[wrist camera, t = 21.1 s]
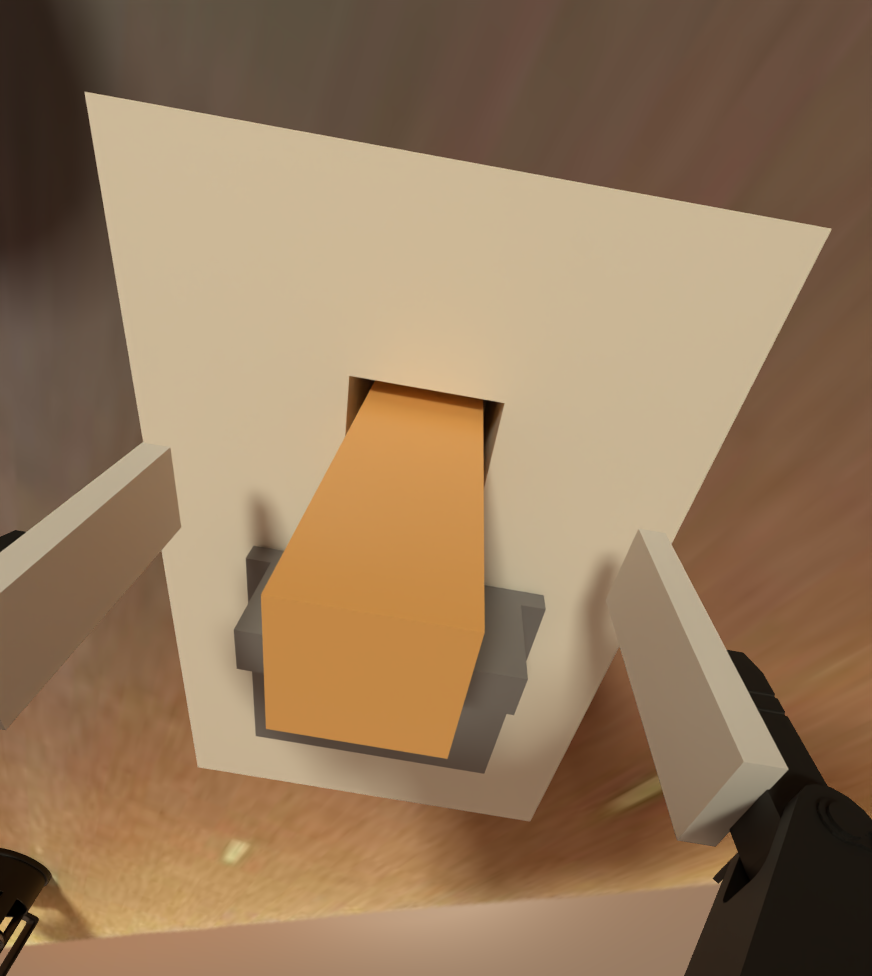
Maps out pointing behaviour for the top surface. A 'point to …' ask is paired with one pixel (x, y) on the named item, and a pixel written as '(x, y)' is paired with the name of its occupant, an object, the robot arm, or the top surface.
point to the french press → (18, 899)
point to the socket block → (423, 385)
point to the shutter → (488, 693)
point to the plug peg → (384, 581)
